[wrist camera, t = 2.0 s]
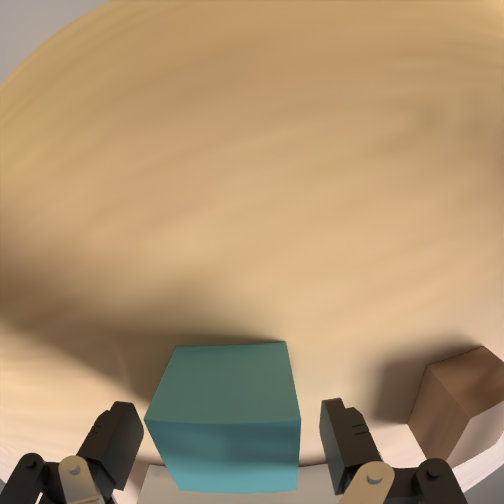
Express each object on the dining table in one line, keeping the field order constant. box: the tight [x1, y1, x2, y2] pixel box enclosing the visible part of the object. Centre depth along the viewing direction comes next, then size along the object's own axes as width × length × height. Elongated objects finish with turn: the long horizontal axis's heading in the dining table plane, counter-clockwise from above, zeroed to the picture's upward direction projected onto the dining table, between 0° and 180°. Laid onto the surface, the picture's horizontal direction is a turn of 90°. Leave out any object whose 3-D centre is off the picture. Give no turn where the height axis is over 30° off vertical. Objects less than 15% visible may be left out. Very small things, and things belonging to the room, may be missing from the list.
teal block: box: [144, 342, 301, 493], centre depth 10 cm, size 5×5×5 cm
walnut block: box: [408, 346, 504, 469], centre depth 11 cm, size 5×5×5 cm
